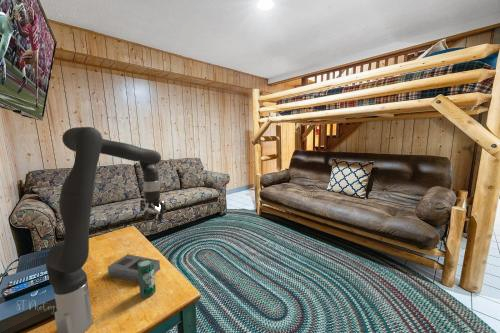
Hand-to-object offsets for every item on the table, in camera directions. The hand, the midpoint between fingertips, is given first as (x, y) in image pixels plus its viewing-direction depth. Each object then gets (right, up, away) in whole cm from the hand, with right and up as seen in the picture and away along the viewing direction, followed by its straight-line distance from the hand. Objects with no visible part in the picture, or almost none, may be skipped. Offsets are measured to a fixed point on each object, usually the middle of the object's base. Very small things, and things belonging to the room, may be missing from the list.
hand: (153, 219), depth 110 cm
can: (+4, -30, -15) cm, 34 cm away
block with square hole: (-10, -28, 0) cm, 30 cm away
